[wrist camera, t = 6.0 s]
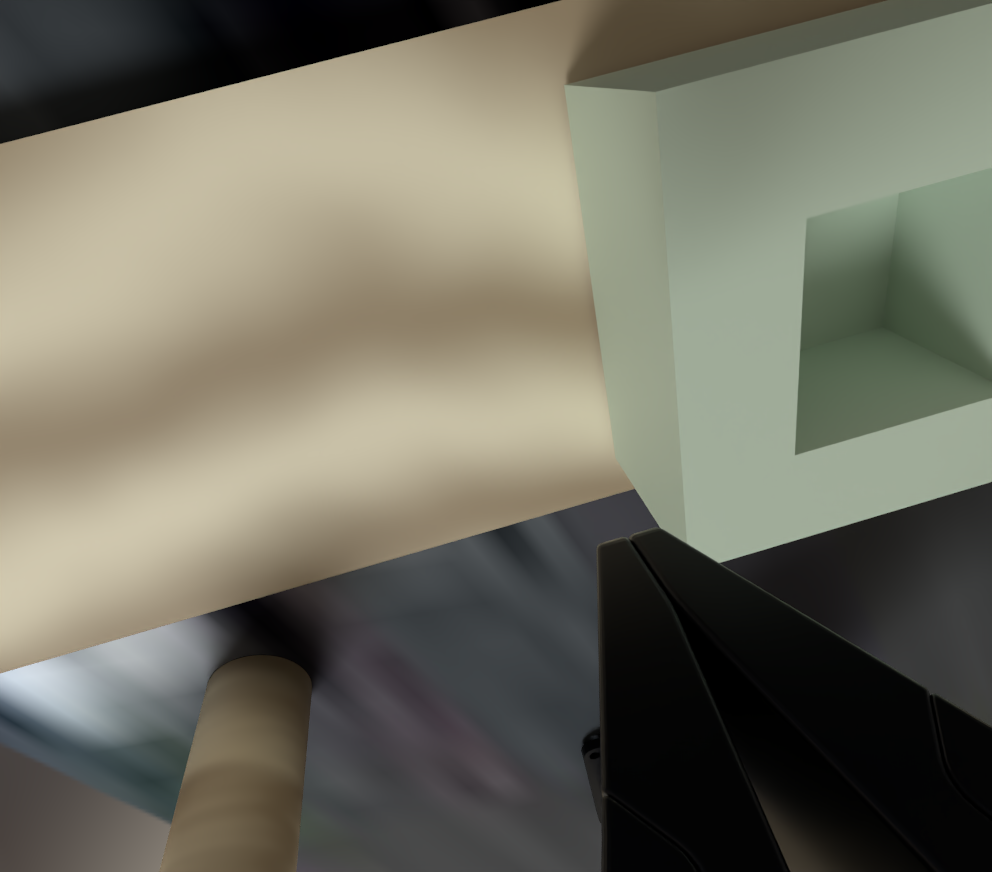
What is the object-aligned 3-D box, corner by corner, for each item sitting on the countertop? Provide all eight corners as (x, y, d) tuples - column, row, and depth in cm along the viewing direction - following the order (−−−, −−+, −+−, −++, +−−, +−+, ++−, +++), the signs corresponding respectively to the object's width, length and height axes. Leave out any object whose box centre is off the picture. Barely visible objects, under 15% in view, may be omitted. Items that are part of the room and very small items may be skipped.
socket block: (926, 368, 19) (1086, 453, 15) (615, 458, 19) (689, 571, 14) (995, -29, 14) (1272, -71, 10) (564, 85, 13) (656, 91, 9)
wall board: (952, 375, 21) (1184, 495, 15) (9, 649, 20) (-144, 899, 14) (1052, -124, 14) (1547, -264, 8) (-383, 243, 13) (-1025, 391, 7)
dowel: (326, 705, 24) (310, 961, 17) (233, 732, 24) (179, 1002, 17) (289, 643, 22) (255, 903, 15) (188, 673, 22) (106, 949, 15)
